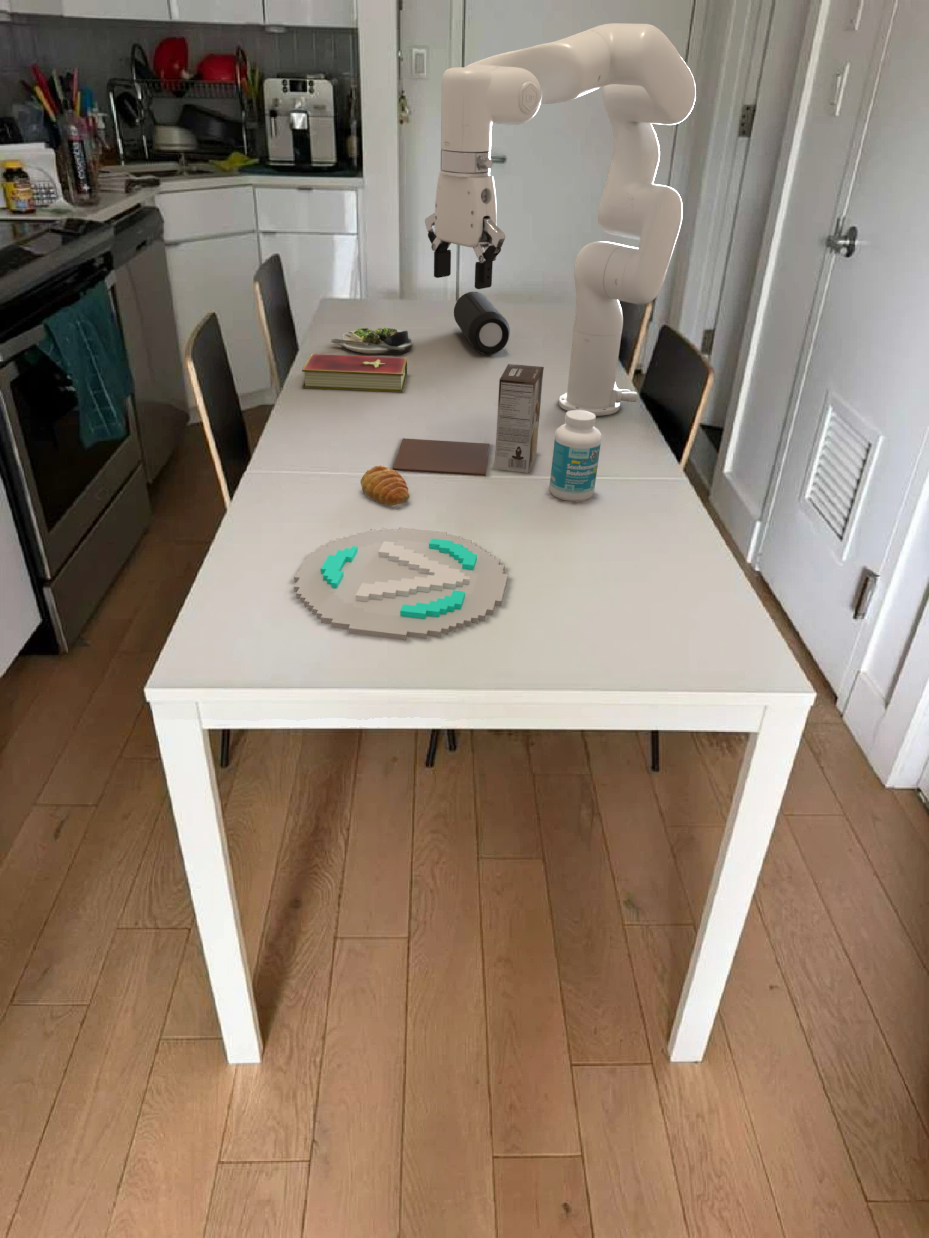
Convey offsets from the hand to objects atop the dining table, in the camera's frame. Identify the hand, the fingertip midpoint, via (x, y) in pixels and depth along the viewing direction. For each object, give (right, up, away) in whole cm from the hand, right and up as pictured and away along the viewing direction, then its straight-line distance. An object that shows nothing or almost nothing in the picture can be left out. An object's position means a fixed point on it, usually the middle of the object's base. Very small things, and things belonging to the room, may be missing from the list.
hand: (462, 282), depth 143 cm
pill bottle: (+18, -34, +3) cm, 39 cm away
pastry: (-12, -35, 0) cm, 37 cm away
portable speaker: (+4, +14, +77) cm, 79 cm away
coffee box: (+9, -27, +14) cm, 32 cm away
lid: (-8, -49, -23) cm, 55 cm away
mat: (-4, -26, +14) cm, 30 cm away
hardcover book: (-23, -3, +48) cm, 53 cm away
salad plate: (-20, +12, +71) cm, 75 cm away
